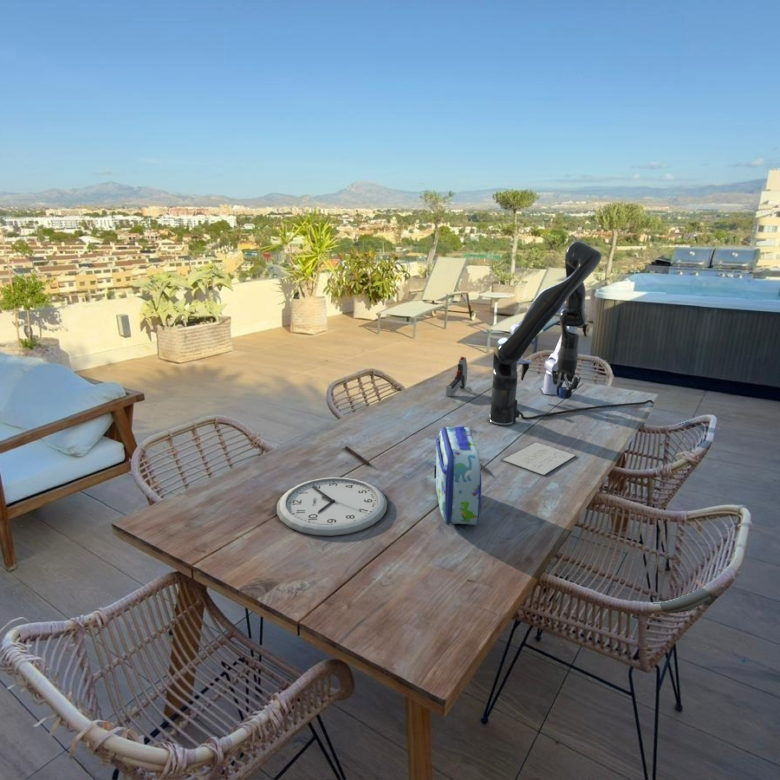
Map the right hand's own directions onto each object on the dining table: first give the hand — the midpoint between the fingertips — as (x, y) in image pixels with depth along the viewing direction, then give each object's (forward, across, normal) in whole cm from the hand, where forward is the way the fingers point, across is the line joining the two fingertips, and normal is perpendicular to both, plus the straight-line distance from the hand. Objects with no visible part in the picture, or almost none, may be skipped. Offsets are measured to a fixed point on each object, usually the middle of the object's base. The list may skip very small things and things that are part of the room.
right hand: (513, 379), depth 241 cm
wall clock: (+7, -61, -112) cm, 128 cm away
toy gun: (+7, -26, -4) cm, 27 cm away
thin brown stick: (+7, -60, -80) cm, 100 cm away
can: (+2, +19, -19) cm, 27 cm away
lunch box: (+7, -28, -108) cm, 112 cm away
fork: (+7, -20, -80) cm, 83 cm away
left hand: (+1, +19, -19) cm, 26 cm away
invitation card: (+7, +1, -72) cm, 73 cm away
